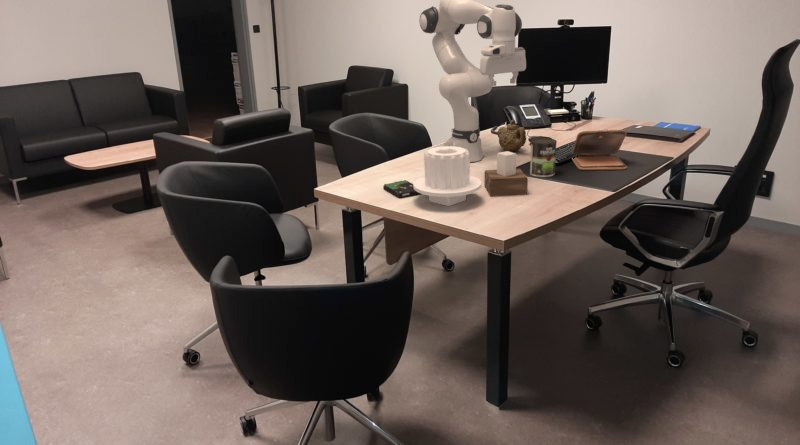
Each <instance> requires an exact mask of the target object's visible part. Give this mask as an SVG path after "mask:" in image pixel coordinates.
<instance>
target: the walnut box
mask: <svg viewBox="0 0 800 445" xmlns="http://www.w3.org/2000/svg"><path fill="white" fill-rule="evenodd" d="M483 175H484V177H483V179H484V186H483V187H484V188H485V190H486V192H487V194H488V195H489V197H493V198H494V197H507V196H508V197H509V196H525V195H528V186H529V184H528V182H529V180H528V179H529V178H528V177H527V175H526V174H525V173H524V172H523V171H522V169H521V168H516V174H514V175H510V176H503V175H500V174H497V169H486V170H484V174H483Z"/></svg>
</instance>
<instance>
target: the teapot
mask: <svg viewBox="0 0 800 445" xmlns="http://www.w3.org/2000/svg"><path fill="white" fill-rule="evenodd" d="M526 132H527V131H526V128H525V127H524V126H518V125H517V124H516V121H515V120H514V119H511V120H510V123H508V124H507V125H506V126H501V127H500V128H498V130H497V133H496V135H497V137H498V144H499V146H500V148H502V150H504V151H505V152H506V151H509V152H512V153H514V152H518V151H520V149H521V148H522V147H524V146H525V144H526V142H527V134H526Z"/></svg>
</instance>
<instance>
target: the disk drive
mask: <svg viewBox="0 0 800 445" xmlns="http://www.w3.org/2000/svg"><path fill="white" fill-rule="evenodd" d="M382 188H383V190H384V191H385V192H387V193H389V194H391V195H392V196H393V197H396V198H397V199H400V200H401V199H406V198H412V197H416V196H422V195H423V194H421V193H418V192H417V191H415V190H414V188H413V183H412V182H410V181H408V180H405V179H404V180H399V181H394V182H391V183H384V185H383V187H382Z"/></svg>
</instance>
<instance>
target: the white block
mask: <svg viewBox="0 0 800 445" xmlns="http://www.w3.org/2000/svg"><path fill="white" fill-rule="evenodd" d="M496 163H497V164H496V170H497V174H500V175H503V176H510V175H514V174H516V169H517V153H516V152H509V151H506V150H505V151H501V152H497V153H496Z"/></svg>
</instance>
